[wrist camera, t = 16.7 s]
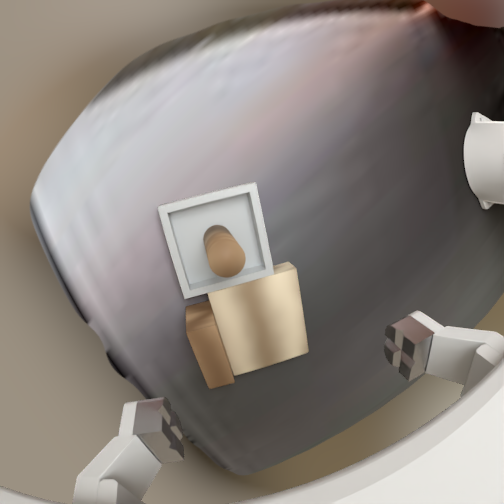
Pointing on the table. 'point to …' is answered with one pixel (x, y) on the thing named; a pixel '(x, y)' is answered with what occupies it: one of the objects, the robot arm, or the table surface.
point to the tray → (204, 216)
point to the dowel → (223, 252)
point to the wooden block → (208, 345)
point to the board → (261, 320)
